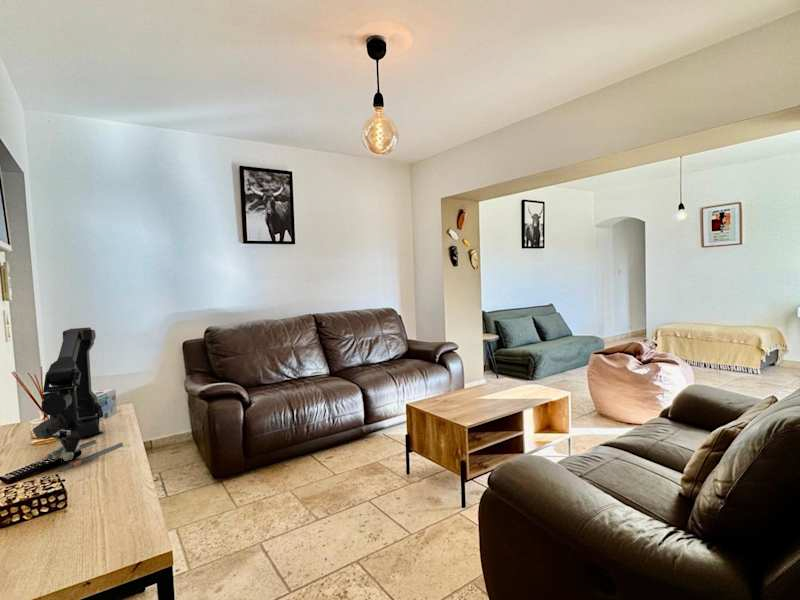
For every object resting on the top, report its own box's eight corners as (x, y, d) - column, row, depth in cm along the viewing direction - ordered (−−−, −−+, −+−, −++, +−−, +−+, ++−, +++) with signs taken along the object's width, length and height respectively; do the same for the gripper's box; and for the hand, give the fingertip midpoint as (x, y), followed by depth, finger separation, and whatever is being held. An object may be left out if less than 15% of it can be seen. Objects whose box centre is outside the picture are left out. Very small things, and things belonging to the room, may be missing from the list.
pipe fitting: (63, 455, 125) (45, 451, 126) (65, 466, 125) (46, 463, 127) (87, 441, 132) (70, 438, 134) (88, 452, 133) (71, 449, 134)
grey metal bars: (93, 443, 142) (93, 438, 142) (123, 446, 138) (123, 441, 138) (31, 468, 124) (30, 463, 124) (63, 472, 120) (63, 467, 120)
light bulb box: (100, 421, 165) (98, 395, 165) (83, 422, 165) (81, 396, 164) (118, 413, 176) (116, 388, 175) (102, 413, 176) (100, 389, 175)
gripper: (14, 414, 123) (20, 464, 123) (59, 416, 117) (65, 469, 118) (54, 402, 133) (60, 449, 134) (97, 404, 128) (103, 452, 129)
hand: (71, 455), depth 129 cm, fingers closed
